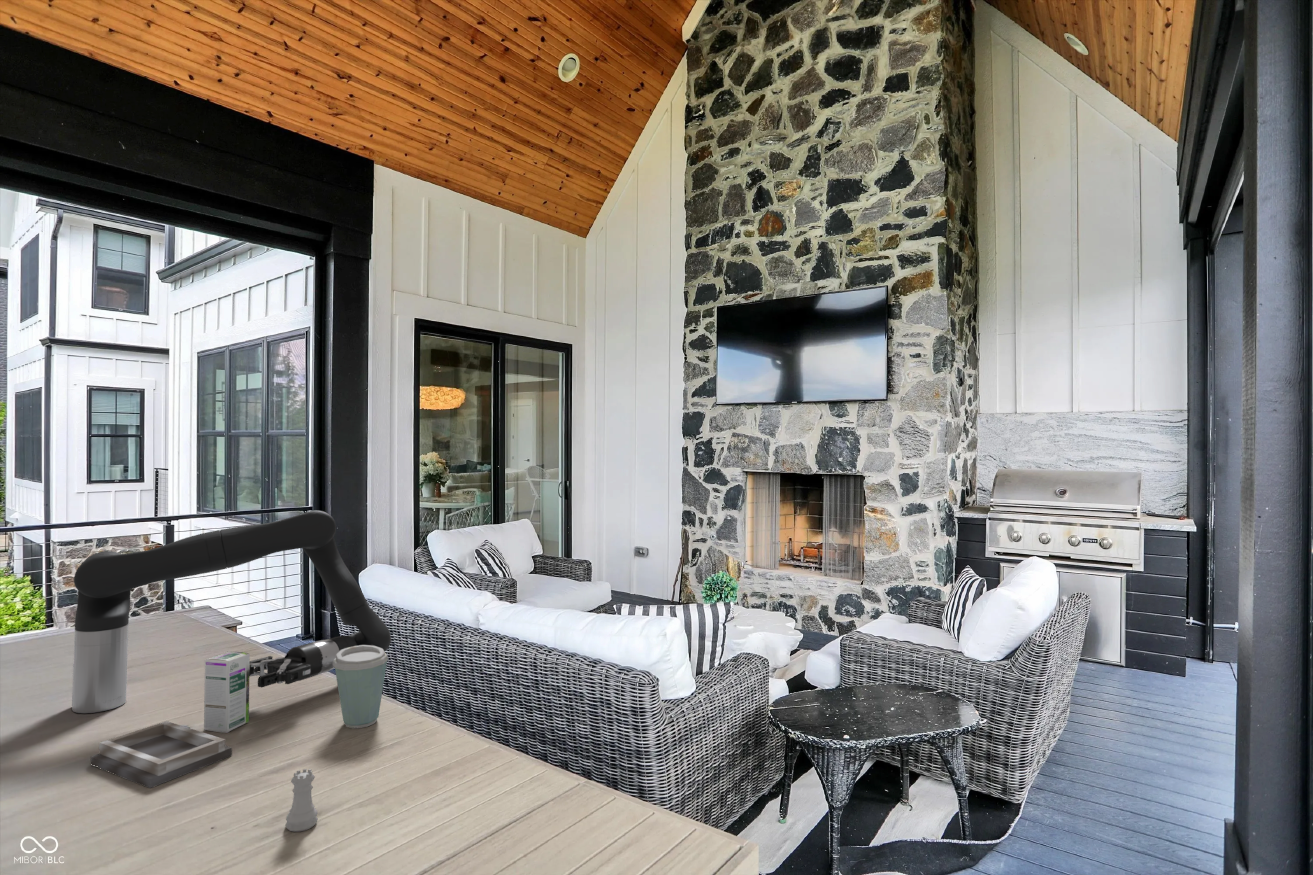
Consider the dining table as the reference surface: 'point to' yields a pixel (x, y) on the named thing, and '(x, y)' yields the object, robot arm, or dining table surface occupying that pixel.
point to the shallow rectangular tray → (159, 753)
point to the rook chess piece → (302, 803)
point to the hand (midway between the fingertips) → (245, 679)
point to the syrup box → (226, 691)
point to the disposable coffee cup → (360, 683)
